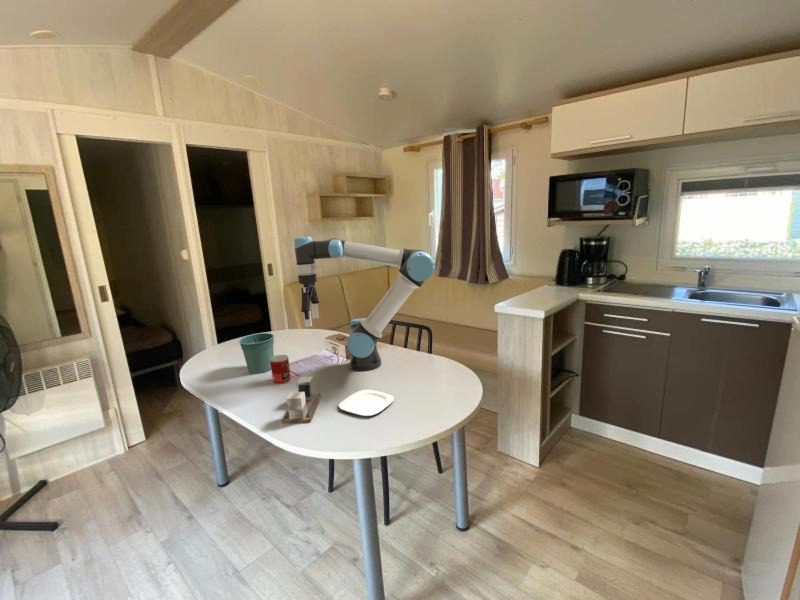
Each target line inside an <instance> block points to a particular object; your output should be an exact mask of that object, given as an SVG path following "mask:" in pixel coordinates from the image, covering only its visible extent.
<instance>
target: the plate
mask: <svg viewBox="0 0 800 600" xmlns="http://www.w3.org/2000/svg"><path fill="white" fill-rule="evenodd" d="M394 400H395V397H394V396H393V395H391V394H389V393H385V392H382V391H378V390H373V389H362V390H361V389H360V390H358V391H356V392H354V393H352V394H350V395H349V396H348V397H346V398H344V399H343V400H342V401H341V402H339V404H338V408H339V409H340V410H342V411H344V412H347V413H349V414H352V415H356V416H361V417H373V416H375V415H377V414H379V413H381V412H383V410H385V409H386V408H387V407H389V406H390V405H391V404H392V403H393V402H394Z"/></svg>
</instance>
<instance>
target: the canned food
mask: <svg viewBox="0 0 800 600" xmlns="http://www.w3.org/2000/svg"><path fill="white" fill-rule="evenodd" d="M289 360H290V359H289V356H288V354H276V355H274V356H273V357H271V358H270V364H271V370H270V371H271V375H272V376H271V377H272V381H273V383H274V384H278V385H279V384H280V385H282V384H285V383H288V382H290V380H291V379H292V377H291V376H292V375H291V367H290V361H289Z"/></svg>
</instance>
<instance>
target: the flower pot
mask: <svg viewBox="0 0 800 600" xmlns="http://www.w3.org/2000/svg"><path fill="white" fill-rule="evenodd" d="M274 339H275V334H273V333H271V332H258V333H252V334H249V335H245V336H243V337H241V338H240V339H239V340H238V343H239V345H240V347H241V351H242V352H243V356H244V360H245V364H246V368H247V371H248V372H249V373H250V374H255V375H256V374H258V375H259V374H263V373H267V372H269V370H270V371H272V370H271V364H270V358H271V357H273V356H275V354H274V344H275V342H274V341H275V340H274Z"/></svg>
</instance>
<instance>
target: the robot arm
mask: <svg viewBox="0 0 800 600" xmlns="http://www.w3.org/2000/svg"><path fill="white" fill-rule="evenodd" d="M293 241H294V254H295V259H296V260H295V262H296V272H297V274H298V276H297V279H298V284H300V285H303V287H301V288H300V289H301V310H300V313H303V319H304V327H305V328H309V327H312V326H313V323H312V319H319V318H320V315H319V306H318V305H319V304H320V300H319V297H318V293H317V289H316V283H317V281H318V280H317V274H316V271H317V270H316V268H317V265H316V261H315V260H320V259H321V260H323V259H324V260H325V259H339V258H344V259H345V258H346V259H350V260H351V259H353V260H358V261H364V262H368V263H375V264H380V265H387V266H391V267H392V266H393V267H397V268H398V269H399V270H397V271H398V277H397V278H396V280H395V281H394V282H393V284H392V285H391V286H390V288H389V289H388V290H387V292H386V293H385V294H384V295H383V297H382V298H381V300H379V302H378V303H377V305H376V306H375V307H374V309H373V310H372V311H371V312H370V314H369V315H368V316H367V317H365V318H364V317H362V318H355V319H352V320H350V323H349V328H350V332H349V335H348V337H347V340H346V348H347V350H348V352H349V354H351V356H350V360H349V365H350V369H352V370H354V371H365V372H366V371H373V370H375V369H378V368H379V367H380V366H381V365H382V358H381V355H380V353H379V350H378V348H377V344H378V342H379V341H380V340H381V339H382V337H383V333H382V332H383V330H384V329H385V328H386V326H387V325H388V324H389V323H390V321H392V319H393V317H394V316H395V315H396V313H397V312H398V311H399V310H400V308H401V307H402V306H403V305H404V303H405V302H406V301H407V299H408V298H409V297H410V295H411V294H412V293H413V292H414V290H415V289H420V288H421V287H422V286H423V285H424V283H425V282H426V281H428V280H429V279H430V278H431V277H432V276H433V275H434V273H435V268H436V262H435V260H434V257H432V255H431V254H430V253H428V251H425V250H423V249H412V248H409V249H408V248H401V249H395V248H389V247H383V246H377V245H372V244H366V243H360V242H353V241H347V240H344V239H343V240H342V239H338V238H335V237H333V238H329V239H325V240H313V236H300V237H295V238H294V240H293ZM310 306H311V307H310ZM310 309H311V310H310Z"/></svg>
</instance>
